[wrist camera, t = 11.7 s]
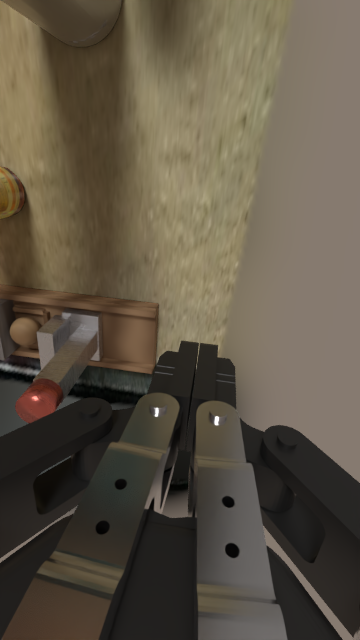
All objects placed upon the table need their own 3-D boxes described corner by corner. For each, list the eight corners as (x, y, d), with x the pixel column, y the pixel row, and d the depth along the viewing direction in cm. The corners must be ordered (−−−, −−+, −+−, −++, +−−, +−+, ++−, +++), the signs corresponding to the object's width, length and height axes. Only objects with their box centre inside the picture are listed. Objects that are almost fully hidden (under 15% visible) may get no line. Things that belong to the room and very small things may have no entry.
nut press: (158, 303, 47) (150, 321, 42) (155, 364, 52) (147, 386, 47) (-6, 283, 49) (-32, 298, 44) (4, 343, 54) (-18, 363, 49)
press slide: (103, 312, 47) (46, 384, 32) (104, 355, 50) (53, 439, 35) (59, 306, 48) (-17, 375, 33) (63, 350, 51) (-5, 430, 36)
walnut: (14, 316, 49) (-2, 329, 46) (37, 308, 48) (22, 321, 45) (28, 339, 51) (13, 353, 47) (51, 332, 50) (37, 346, 46)
